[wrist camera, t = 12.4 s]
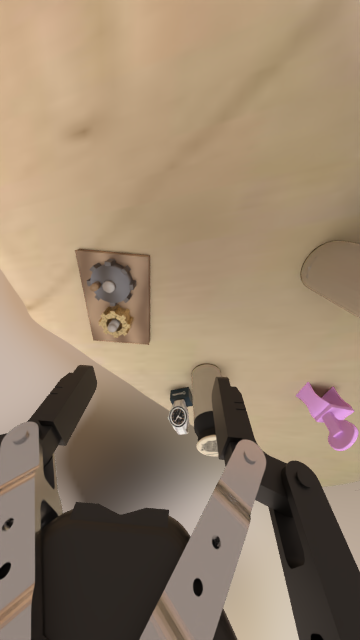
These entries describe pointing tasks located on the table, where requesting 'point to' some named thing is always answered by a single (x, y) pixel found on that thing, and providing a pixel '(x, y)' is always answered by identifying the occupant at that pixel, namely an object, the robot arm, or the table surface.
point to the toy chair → (331, 416)
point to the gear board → (132, 304)
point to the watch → (180, 409)
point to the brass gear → (121, 316)
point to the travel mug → (204, 408)
